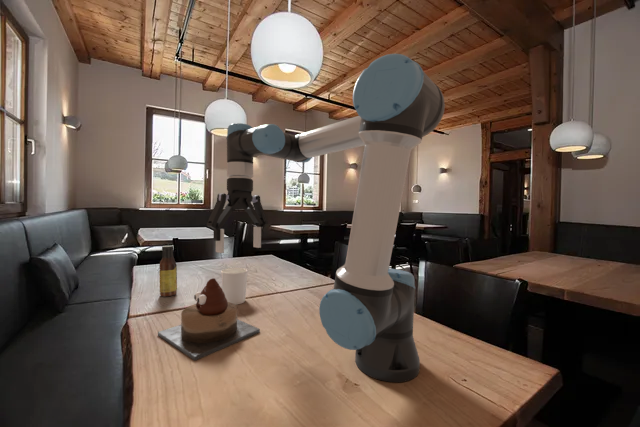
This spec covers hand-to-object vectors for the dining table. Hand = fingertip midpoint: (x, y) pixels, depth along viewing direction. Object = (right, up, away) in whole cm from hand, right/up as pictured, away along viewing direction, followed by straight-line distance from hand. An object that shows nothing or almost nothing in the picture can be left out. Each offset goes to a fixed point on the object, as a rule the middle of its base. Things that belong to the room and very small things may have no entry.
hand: (239, 249), depth 84 cm
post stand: (-8, -24, -2) cm, 25 cm away
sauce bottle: (-38, -22, +31) cm, 54 cm away
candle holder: (-9, -23, +25) cm, 36 cm away
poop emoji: (-7, -17, -3) cm, 19 cm away
